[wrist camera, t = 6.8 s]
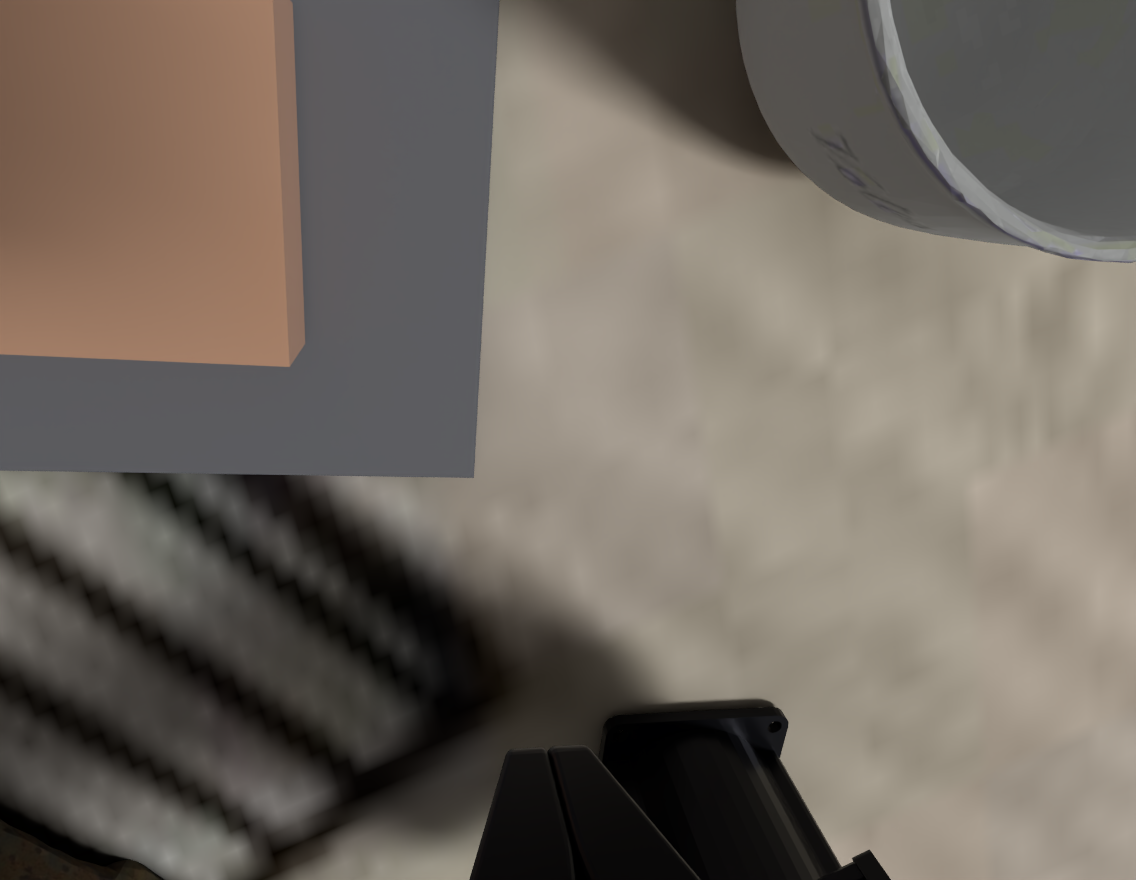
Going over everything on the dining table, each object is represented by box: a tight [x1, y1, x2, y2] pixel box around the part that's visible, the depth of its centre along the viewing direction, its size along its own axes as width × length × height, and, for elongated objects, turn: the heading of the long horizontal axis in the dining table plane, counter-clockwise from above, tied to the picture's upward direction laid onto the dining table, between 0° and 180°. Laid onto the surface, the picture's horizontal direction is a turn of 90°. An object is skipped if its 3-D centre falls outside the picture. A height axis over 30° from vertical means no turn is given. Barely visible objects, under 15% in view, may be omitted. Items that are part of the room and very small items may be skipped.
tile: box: [0, 0, 305, 367], centre depth 14 cm, size 2×7×8 cm
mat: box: [0, 0, 499, 478], centre depth 15 cm, size 16×14×1 cm
